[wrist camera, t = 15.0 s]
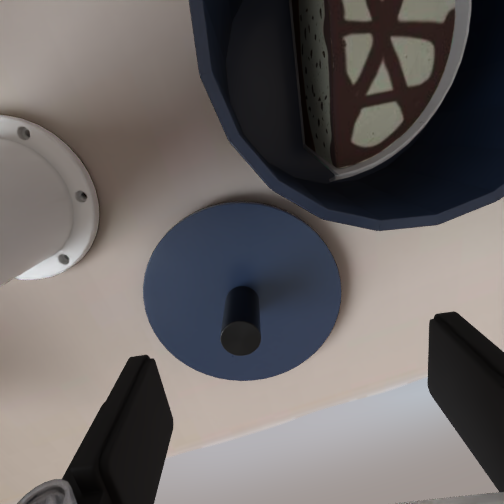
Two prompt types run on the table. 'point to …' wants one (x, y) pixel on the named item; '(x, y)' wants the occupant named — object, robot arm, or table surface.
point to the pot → (388, 172)
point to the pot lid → (242, 291)
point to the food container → (372, 74)
